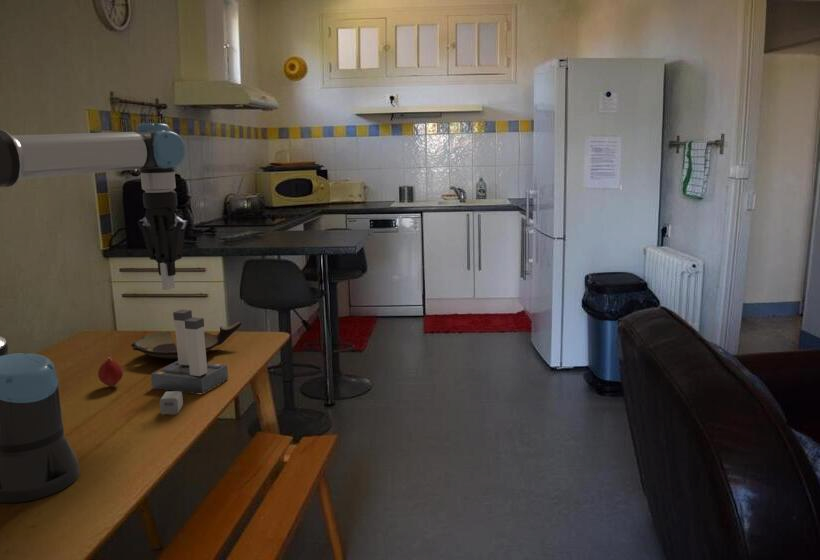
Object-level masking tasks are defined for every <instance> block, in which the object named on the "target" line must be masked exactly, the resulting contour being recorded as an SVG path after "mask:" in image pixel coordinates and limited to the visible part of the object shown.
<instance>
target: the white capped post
mask: <svg viewBox="0 0 820 560" xmlns="http://www.w3.org/2000/svg"><path fill="white" fill-rule="evenodd" d="M172 315H173V316H172V317H173V321H174V329H175V330H174V331H175V341H176V348H177V353H178V359H177V361H178V364H180V365H189V359H188V347H187V336H186V329H185V320H187V319H190V318H192V317H193V314H192V310H191V309H179V310H178V309H177V310H175V311H173V312H172Z"/></svg>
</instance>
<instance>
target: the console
mask: <svg viewBox="0 0 820 560" xmlns="http://www.w3.org/2000/svg"><path fill="white" fill-rule="evenodd" d="M228 373H229V372H228V365H227V364H221V363H212V362H211V363H210V362H208V363H207V373H205V374H203V375H201V376H195V375H190V370H189V365H180V364H178V360H176V361H174V362H172V363H170V364H168V365H166V366H164V367H162V368H159V369H158V370H155V371H154V372H151V373H150V377H151V378H150V379H151V385H152V386H151V387H152V388H153V390H154V389H155V390H160V389H164V390H163V391H168V390H173V391H183V392H182V393H184V392H193V393H202V394H203V393H204V392H206V391H208V390H209V389H211V388H213V387H214V386H217V385H218V384H220V383H221V382H223V381H225V380H227V379H228V380H229V374H228ZM228 380H227V381H228ZM225 382H226V381H225ZM223 383H224V382H223ZM220 385H221V384H220ZM218 386H219V385H218ZM218 386H217V387H218ZM213 389H214V388H213ZM208 392H209V391H208ZM206 393H207V392H206ZM203 395H204V394H203Z"/></svg>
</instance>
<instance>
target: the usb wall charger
mask: <svg viewBox="0 0 820 560" xmlns="http://www.w3.org/2000/svg"><path fill="white" fill-rule="evenodd" d="M183 406H184V400H183V392H180V391H165V392H164V394H163V395H162V397H160V400H159V407H160V413H161V415H163V416H165V415H164V414H170V415H177V413H178V414H179V413H180V411H181V409H182V408H183Z"/></svg>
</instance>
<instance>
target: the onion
mask: <svg viewBox="0 0 820 560" xmlns="http://www.w3.org/2000/svg"><path fill="white" fill-rule="evenodd" d="M123 370H124V369H123V367H122V365H120V363H119V362H118V361H115V360H113V359H112V357H111V356H109V357H107V359H106V360H105V361H104V362H103V363H102V364H101V365H100V367H99V369H98V371H97V372H98V373H97V377H98V380H99V381H100V382H101V383H102V384H104V385H106V386H108V387H110V388H114V387H115V386H116V385H117V384H118V383H119V382H120V381H121V380H122V378H123V375H124V371H123Z"/></svg>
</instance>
